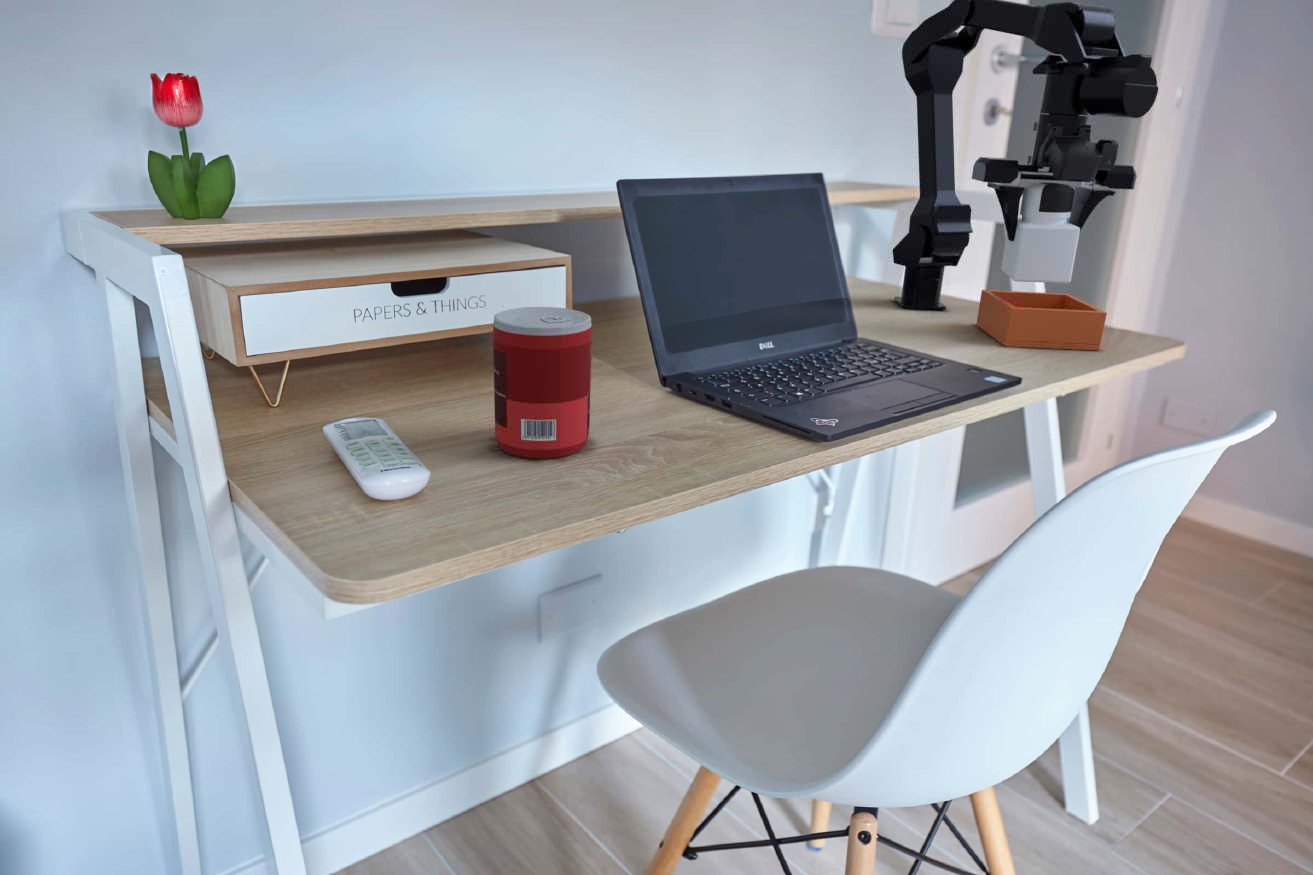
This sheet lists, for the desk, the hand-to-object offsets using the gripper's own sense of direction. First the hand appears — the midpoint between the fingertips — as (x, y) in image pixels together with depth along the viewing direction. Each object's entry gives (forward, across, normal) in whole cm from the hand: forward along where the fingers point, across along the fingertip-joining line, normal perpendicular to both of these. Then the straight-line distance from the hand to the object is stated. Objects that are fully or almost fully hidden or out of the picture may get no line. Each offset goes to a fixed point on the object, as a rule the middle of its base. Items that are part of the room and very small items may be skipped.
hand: (1040, 242), depth 120 cm
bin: (+13, +2, 0) cm, 13 cm away
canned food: (+13, -58, -49) cm, 77 cm away
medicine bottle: (+5, 0, 0) cm, 5 cm away
